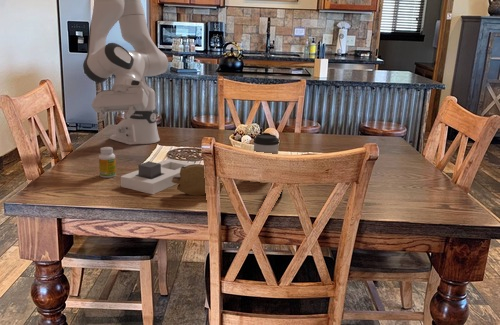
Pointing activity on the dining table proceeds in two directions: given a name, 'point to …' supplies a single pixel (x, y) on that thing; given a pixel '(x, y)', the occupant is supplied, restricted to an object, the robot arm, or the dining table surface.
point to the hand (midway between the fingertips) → (113, 118)
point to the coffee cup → (266, 143)
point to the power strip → (153, 176)
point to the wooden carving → (192, 180)
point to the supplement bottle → (107, 163)
